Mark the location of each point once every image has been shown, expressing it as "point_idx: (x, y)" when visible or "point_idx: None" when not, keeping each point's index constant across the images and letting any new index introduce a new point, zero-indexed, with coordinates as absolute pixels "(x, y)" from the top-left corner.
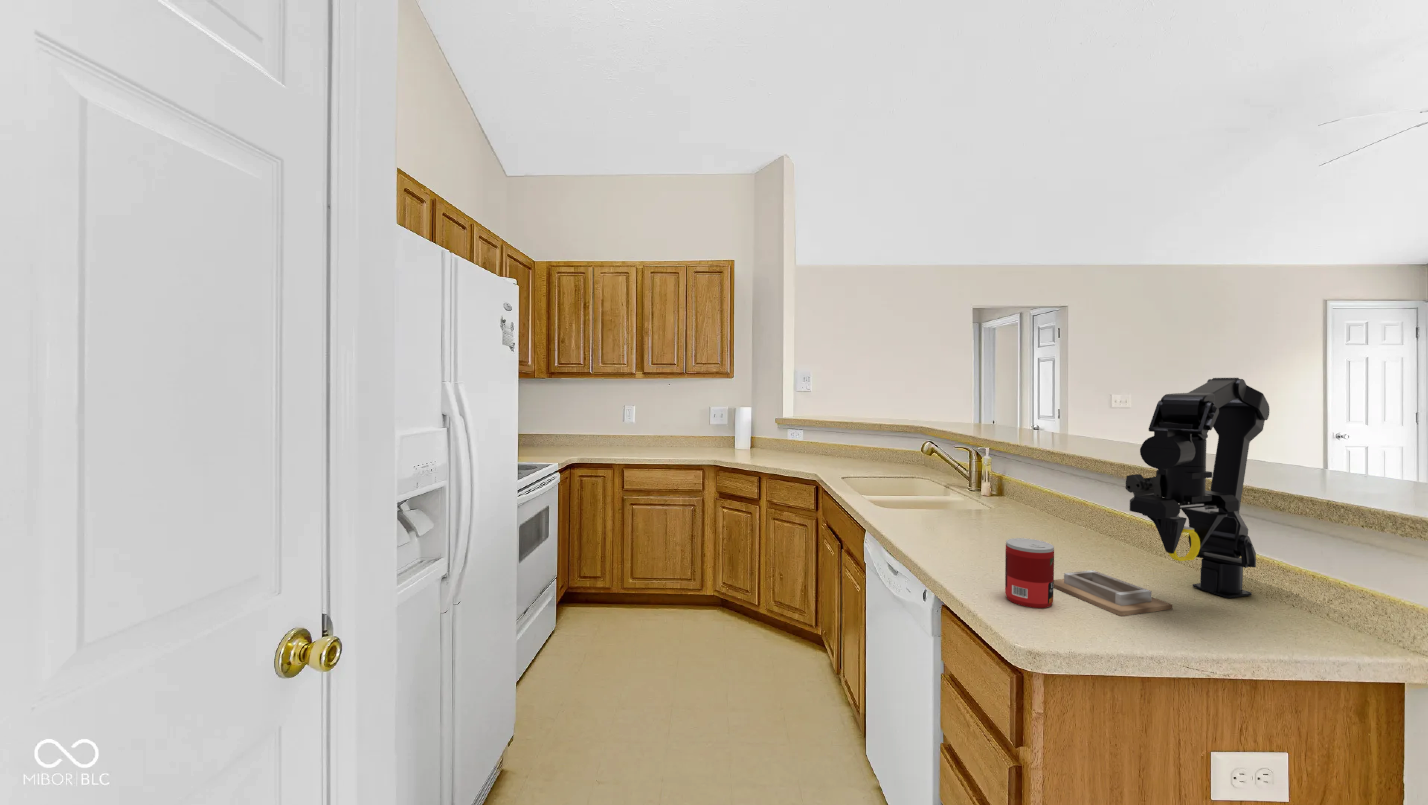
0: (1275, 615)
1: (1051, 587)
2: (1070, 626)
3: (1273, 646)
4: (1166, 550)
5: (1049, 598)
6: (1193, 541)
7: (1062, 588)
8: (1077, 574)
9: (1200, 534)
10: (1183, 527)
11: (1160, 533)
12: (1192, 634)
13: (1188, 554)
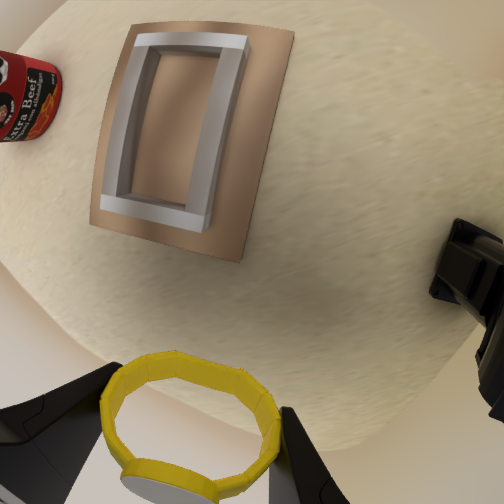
0: (386, 366)
1: (9, 139)
2: (15, 210)
3: (213, 400)
4: (109, 366)
5: (22, 140)
6: (267, 443)
7: (116, 69)
8: (164, 45)
9: (272, 489)
10: (68, 489)
11: (44, 400)
12: (138, 328)
13: (248, 388)
